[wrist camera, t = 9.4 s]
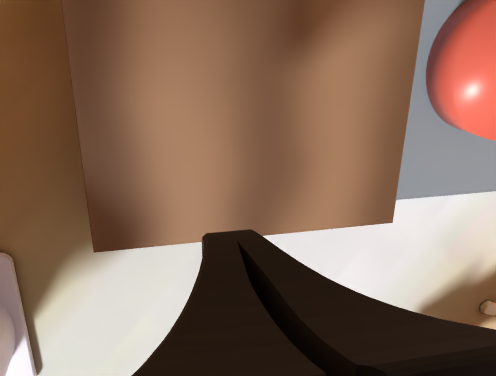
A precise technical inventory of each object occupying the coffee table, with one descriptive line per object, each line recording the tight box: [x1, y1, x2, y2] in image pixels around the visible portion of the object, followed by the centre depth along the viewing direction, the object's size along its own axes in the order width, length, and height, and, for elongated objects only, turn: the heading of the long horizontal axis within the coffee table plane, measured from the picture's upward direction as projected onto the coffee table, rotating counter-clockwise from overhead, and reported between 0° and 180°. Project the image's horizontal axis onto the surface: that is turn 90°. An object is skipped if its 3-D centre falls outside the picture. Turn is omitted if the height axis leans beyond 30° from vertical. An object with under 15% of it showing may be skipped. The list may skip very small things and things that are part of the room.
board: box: [61, 0, 425, 252], centre depth 19 cm, size 14×16×3 cm
